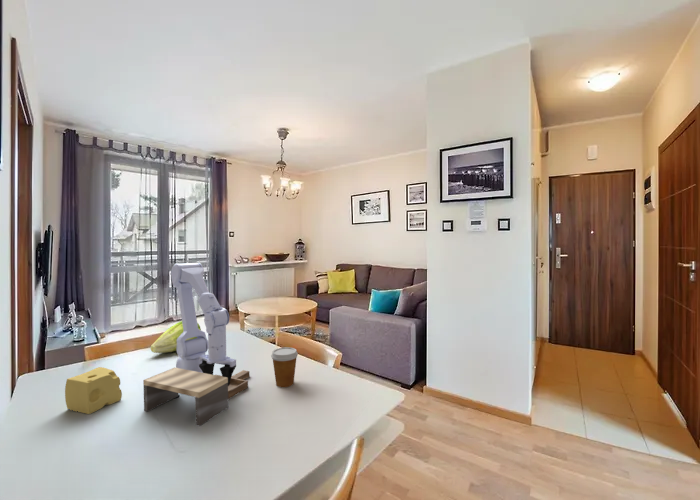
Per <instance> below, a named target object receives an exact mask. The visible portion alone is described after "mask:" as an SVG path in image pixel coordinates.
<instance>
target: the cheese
mask: <svg viewBox="0 0 700 500" xmlns="http://www.w3.org/2000/svg"><path fill="white" fill-rule="evenodd" d="M120 385H121V378H120V376H118V375H117V374H116V371H114V370H112V369H109V368H107V367H101V366H100V367H99V366H98V367H96V368H94V369H91V370H89V371H86V372H84V373H81V374H78V375H75V376H72V377H68V378H66V383H65V388H64V398H65V405H66V407H67V410H68V409H70V410H69V411H72V410H73V412H77V411H78V412H77V413H82V414H86V415H91V414H93V413H95V412H97V411H99V410H101V409H103V408H105V407H104V406H107V405H108V406H109V405H113V404H115V403H118V402H119V401H122V397H123V393H122V389H120Z"/></svg>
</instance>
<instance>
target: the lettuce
mask: <svg viewBox="0 0 700 500" xmlns="http://www.w3.org/2000/svg"><path fill="white" fill-rule="evenodd" d="M197 325H198V329H199V330H201V331H202V328H201V326H200V324H199V323H198V322H197ZM183 332H184V330H183V324H182V320H181V321H178V322H176V323H175V324H173V325H172V326H170V327H169V328H168V329H166V330H165V331H164V332H163V333H162V334H161V335H160V336H159V337H158V338H157V339H156V340H155V341H154V342H153V343H152V344H151V346H150V350H151V352H152V353H155V354H162V353H163V354H164V353H172V352H177V350H176V348H177V338H178V337H179V336H180V335H181V334H182V333H183ZM194 338H197V337H192V338H188V339H186V340H190V339H194ZM186 340H185V341H186Z"/></svg>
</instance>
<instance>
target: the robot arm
mask: <svg viewBox="0 0 700 500" xmlns="http://www.w3.org/2000/svg"><path fill="white" fill-rule="evenodd" d="M204 273H205V269H204V266H203V265H202V263H201V262H192V263H190V262H189V263H188V262H187V263H174V264H173V265H172V267H171V270H170V275H171V277H170V278H171V282H172V287H174V288H175V289H176V291H177V296H178V298H177V299H178V303H179V310H180V316H181V317H180V318H181V321H182V324H183V330H184V332H183V333H182V334H181V335H180V336H179V337H178V338H177V348H176V354H177V356H178V358H177V360H176V362H175V368H180V369H185V370H191V371H196V372H201V373H206V374H211V375H214V369H215V364H217V365H223V366H222V367H220V368H219V371H220V374H221V376H222V377H227V378H228V386H229V385H230V380H231V377H232V376H233V374H234V371H235V369H236V367H237V359H235V358H231V356H227V325H229V323H230V314H229V311H228V309H226V308H224V307H223V306H221V305H220V303H219V301H218V299H217V297H216V296H215V294H214V293H213V292H210V291H209V289H208V286H207V283H206V282H205V279H204ZM193 290H194V291H195V293H196V294H197V296H198V300H197V303H198V305H199V307H200V309H201V310H202V313H203V315H204V319H203V321H204V325H205V328H206V329H205V330H206V332H205V331H203V330H202V329H201V330H199V329H198V325H197V323H198V320H197V313H196V306H195V300H194V295H193V293H194V292H193ZM192 337H197V338H194V339H190V340H186V339H188V338H192ZM185 340H186V341H185ZM207 352H208V354H206V353H207Z"/></svg>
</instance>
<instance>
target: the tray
mask: <svg viewBox="0 0 700 500" xmlns="http://www.w3.org/2000/svg"><path fill="white" fill-rule="evenodd" d="M216 375H217V376H221V375H220V374H216ZM249 377H250V371H249V370H244V369H243V370H241V371H239V372H237V373H235V374H234V375H233V374H232V377H231V380H230V385H229V386H228V400H230V399H231V398H233V397H235V396H237V395H238V394H239V393H241V392H243V391H245V390H246V389H249V381H248V380H245V379H248V378H249Z"/></svg>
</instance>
